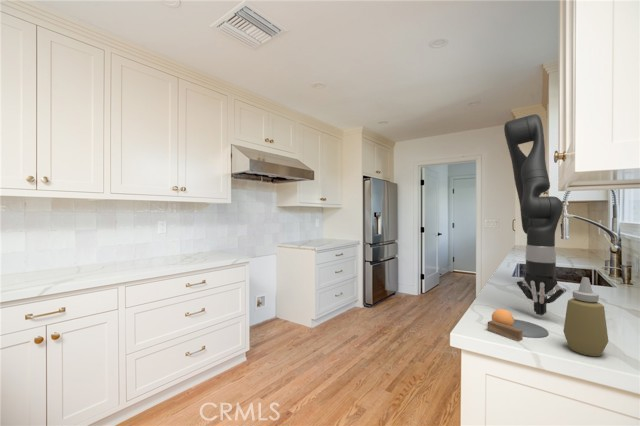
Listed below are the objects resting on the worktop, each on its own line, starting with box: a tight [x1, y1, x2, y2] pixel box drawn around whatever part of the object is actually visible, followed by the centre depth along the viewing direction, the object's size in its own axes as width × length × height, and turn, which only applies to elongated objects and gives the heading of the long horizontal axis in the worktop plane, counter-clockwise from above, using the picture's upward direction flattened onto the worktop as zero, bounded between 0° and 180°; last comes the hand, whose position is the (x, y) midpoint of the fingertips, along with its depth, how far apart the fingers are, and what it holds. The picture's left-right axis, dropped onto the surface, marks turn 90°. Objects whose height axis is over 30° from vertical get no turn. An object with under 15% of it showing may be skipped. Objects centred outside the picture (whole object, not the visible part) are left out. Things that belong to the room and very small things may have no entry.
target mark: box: [512, 318, 549, 339], centre depth 84 cm, size 13×13×1 cm
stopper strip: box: [487, 319, 523, 342], centre depth 79 cm, size 2×8×2 cm, turn 32°
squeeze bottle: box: [563, 276, 609, 357], centre depth 70 cm, size 8×8×18 cm
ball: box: [491, 308, 514, 327], centre depth 83 cm, size 6×6×6 cm
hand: (539, 314), depth 91 cm, fingers closed
